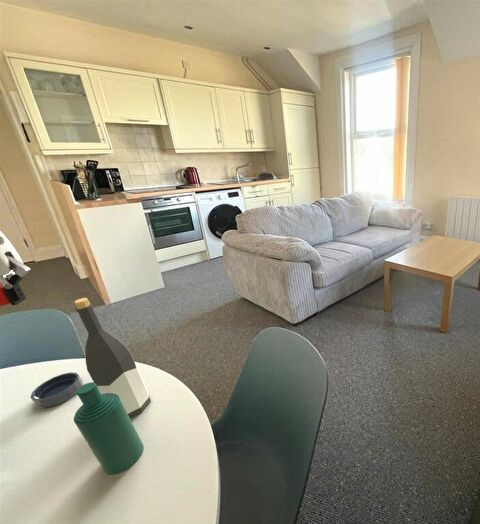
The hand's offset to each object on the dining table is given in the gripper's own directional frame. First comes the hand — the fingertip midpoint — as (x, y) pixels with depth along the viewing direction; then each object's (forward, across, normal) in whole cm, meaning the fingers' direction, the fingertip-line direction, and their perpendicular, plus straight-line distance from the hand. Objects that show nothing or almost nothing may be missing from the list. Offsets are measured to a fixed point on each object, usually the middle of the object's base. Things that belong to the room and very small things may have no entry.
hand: (6, 303), depth 63 cm
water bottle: (+27, -24, +24) cm, 44 cm away
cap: (0, 0, 0) cm, 0 cm away
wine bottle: (+28, -20, +10) cm, 36 cm away
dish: (+27, 0, 0) cm, 27 cm away
